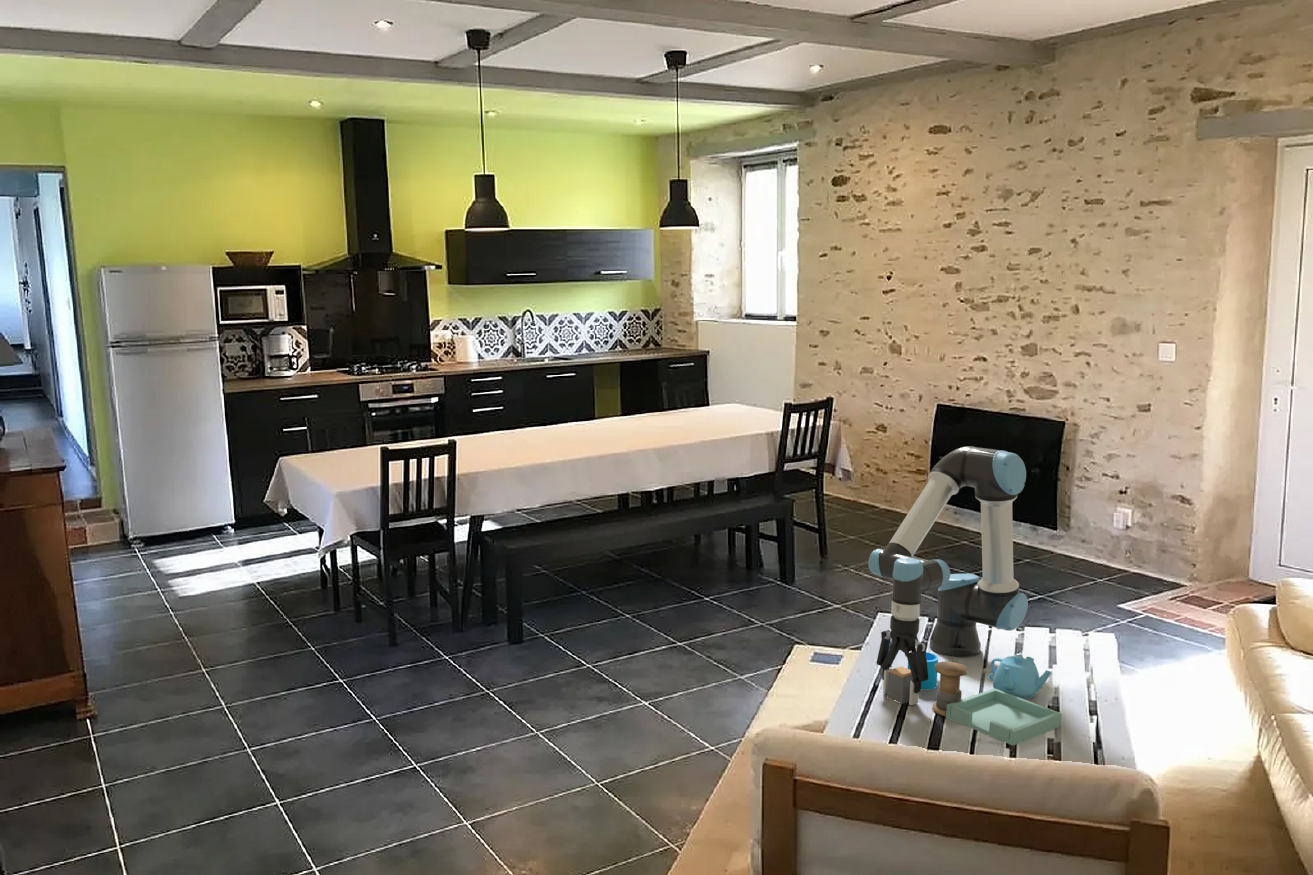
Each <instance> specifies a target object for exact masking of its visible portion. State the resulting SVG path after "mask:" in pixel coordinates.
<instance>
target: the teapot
mask: <svg viewBox="0 0 1313 875" xmlns="http://www.w3.org/2000/svg"><path fill="white" fill-rule="evenodd" d="M1034 661H1035V659H1034V657H1031V656H1026V658H1024V656H1022V655H1019V654H1015V655H1011V656H1006V657H1004V658H1000V657H994V658H993V659H991V661H990V669H991V672H992V673H990V674H988V679H989V681H991V682H992V687H993V688H995V689H998V690H1001V691H1003V692H1006V693H1009V694H1011V695H1014V696H1017V697H1019V698H1022V699H1025V700H1028V699H1032V698H1034V697H1035V696H1036V695H1037V693H1038V692H1039V691H1040V690H1041V689H1043V686H1044V685H1045V683H1046V682H1047V681H1048V679H1049V677H1050V676H1051V675H1052V671H1049V670H1047V669H1046V670H1045V671H1044V672H1043V673H1042V674H1041V675H1040V673H1039V671H1038V668H1037V666H1036V665H1037V664H1036V662H1034ZM995 662H999V664H998V666H997V668H995ZM992 676H993V677H992ZM1033 696H1034V697H1033Z"/></svg>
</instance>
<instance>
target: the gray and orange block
mask: <svg viewBox="0 0 1313 875" xmlns="http://www.w3.org/2000/svg"><path fill="white" fill-rule="evenodd" d="M890 669H891V670H890V672H889V675H888V693H887V695H886V696H887V697H888V698H887V697H886V698H887V699H889V698H890V699H889V700H891V699H892V701H893V700H896V701H898V702H900V703H899V704H901V705H903V704H907V703H909V697H910V681H912V680H913V677H912V674H911V670H909V669H908V667H907V668H906V667H904V666H898V667H895V668H890ZM896 701H895V702H896ZM898 702H897V703H898Z"/></svg>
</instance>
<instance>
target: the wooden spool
mask: <svg viewBox="0 0 1313 875" xmlns="http://www.w3.org/2000/svg"><path fill="white" fill-rule="evenodd" d="M935 671H936V672H937V674H940V675H939V686H937V687H936V688H937V689H936V700H935V701H936V702H934V703H932V706H931V708H932V711H933V710H934V711H933V712H934V713H935V714H937V715H939V716H943V717H946V711H947V705H948V704H950V703H957V702H960V701H961V700H962V695H963V693H962V690H961V689H960V688H961V686H960V685H961V684H960V683H961V677H963V676H965V675H966V674H967V671H968V668H967V666H965V665H964V664H962V663H958V662H953V661H938V663H936V664H935Z"/></svg>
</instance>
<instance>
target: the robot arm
mask: <svg viewBox="0 0 1313 875" xmlns="http://www.w3.org/2000/svg"><path fill="white" fill-rule="evenodd" d="M927 479H928V482H927V483H926V485H925V487H924V488H923V489H922V491H921V493H920V495H918V497H917V499H916V500H915V502H914V503H913V506H912V507H910V510H909V511H908V513H907V514H906V516H905V518H904V519H903V521H902V522H901V524H899V527H898V528H897V530H896V531H895V533H894V535H893V536H892V538H891V539H890V541H889V542H888V543H887V545H886V546H885V547H884V548H876V549H874V550H873V551H871V553H870V554H869V558H868V564H867V565H868V569H869V571H870V572H871V573H872V574H873V575H875V576H878V577H880V578H882V579H883V578H884V579H888V580H892V591H891V592H892V596H891V605H890V606H891V607H890V608H891V610H890V614H891V616H890V623H889V624H890V625H889V629H890V630H889V629H887V630H883V631H881V632H880V634H881V635H880V636H881V637H880V638H881V641H880V646H879V649H878V654H877V657H876V665H877V666H880V667H881V669H882V671H881V672H882V674H881V679H882V681H883V684H882V686H883V687H882V694H884V695H886V694H888V675H889V672H890V670H891V669H892V668H893V666H892V665H893V663H894V661H895V659H896V657H897V655H898V653H899V651H901V652H903V653H904V656H905V657H906V659H907V664H908V663H909V666H910V670H911V674H912V677H913V680H912V681H910V697H909V702H908V705H910V706H912V705H916V704H918V703H919V693H921V692H922V690H921V682H922V681H925V680H928V669H927V658H926V652H927V649H928V644H927V643H926V642H920V641H919V638H918V634H919V632H920V616H921V605H922V603H921V601H922V600H921V599H922V593H923V592H924V593H925V592H927V591H930V590H934V589H937V591H938V592H937V609H936V610H937V612H936V623H935V625H934V628H933V630H932V632H931V635H930V637H929V648H930V650H933V651H934V652H936V653H939V654H942V655H946V656H951V657H961V658H962V657H963V658H964V657H965V658H967V657H974V656H977V655H979V654H980V653H981V649H982V648H981V647H982V646H981V641H980V638H979V632H978V629H977V623H979V624H982V625H986V626H988V627H991V628H995V629H997V630H1003V631H1009V632H1010V631H1014V630H1016V629H1017V628H1019V627H1020V625H1021V624H1022V622H1023V621H1024V619H1025V617H1026V614H1027V611H1028V607H1029V602H1028V601H1029V599H1028V597H1027V595H1026V594H1024V593H1023V592H1020V583H1019V581H1017V580H1016V579H1015V578H1014V541H1013V540H1014V539H1013V538H1014V536H1013V532H1014V531H1013V530H1014V529H1013V526H1014V523H1013V502H1014V501H1015V500H1016V499H1017V498H1018V496H1019V495H1018V494H1020V493H1021V492H1022V491H1023V489H1025V488H1024V487H1025V486H1026V485H1025V483H1026V481H1027V480H1026V479H1027V469H1026V466H1025V463H1024V461H1023V459H1022V458H1021V457H1020V456H1019V455H1018V454H1017V453H1014V452H1008V451H1007V450H999V449H993V448H985V447H984V448H983V447H977V446H973V445H971V446H970V445H969V446H962V447H960V448H959V447H958V448H956V449H954V450H952V451H951V452H949V453H948V454H946V455H944V456H943V457H942V458H941V459H940V460H939V461H938V462H937V463H936V464H935V465H934V466H933V468H932V469H931V471H930V472H929V473H928V476H927ZM963 487H970V488H974V495H975V496H974V497H975V499H976V500H978V501H979V502H980V518H981V519H980V522H981V523H980V524H981V525H980V526H981V556H982V557H981V558H982V561H981V564H982V578H981V579H980V577H979V576H978V575H977V574H972V573H953V574H952V573H951V569H950V567H949V565H948V564H947V562H945V561H944V560H942V559H939V558H937V559H930V560H926V559H922V558H919V557H914V555H915V554H916V552H917V550H918V549H919V547H920V546H921V544H922V543H923V541H924V539H925V537H926V536H927V534H929V531H930V530H931V528H932V527H933V526H934V524H935V521H937V519H938V517H939V515H940V514H941V513H942V511H943V509H944V508H945V506H946V505H947V503H948V501H949V500H950V499H951V497H952V496H953V495H957V494H958V493H959V492H960V489H962V488H963ZM891 641H892V642H891ZM916 654H917V656H916ZM917 676H918V677H917Z"/></svg>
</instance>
